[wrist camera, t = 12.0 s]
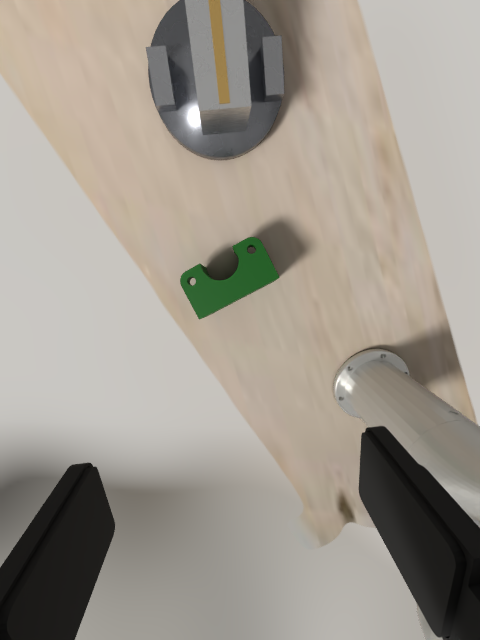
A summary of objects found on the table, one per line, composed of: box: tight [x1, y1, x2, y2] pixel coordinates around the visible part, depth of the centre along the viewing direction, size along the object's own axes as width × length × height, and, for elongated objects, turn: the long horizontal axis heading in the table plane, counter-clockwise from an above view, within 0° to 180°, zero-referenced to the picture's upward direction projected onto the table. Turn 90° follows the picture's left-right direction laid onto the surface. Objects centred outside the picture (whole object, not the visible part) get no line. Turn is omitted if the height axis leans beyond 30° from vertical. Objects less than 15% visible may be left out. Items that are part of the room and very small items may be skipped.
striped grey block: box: [185, 0, 251, 135], centre depth 26 cm, size 5×10×6 cm, turn 6°
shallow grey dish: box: [146, 0, 284, 160], centre depth 29 cm, size 15×15×3 cm
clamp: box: [180, 237, 279, 319], centre depth 34 cm, size 12×6×9 cm, turn 111°
